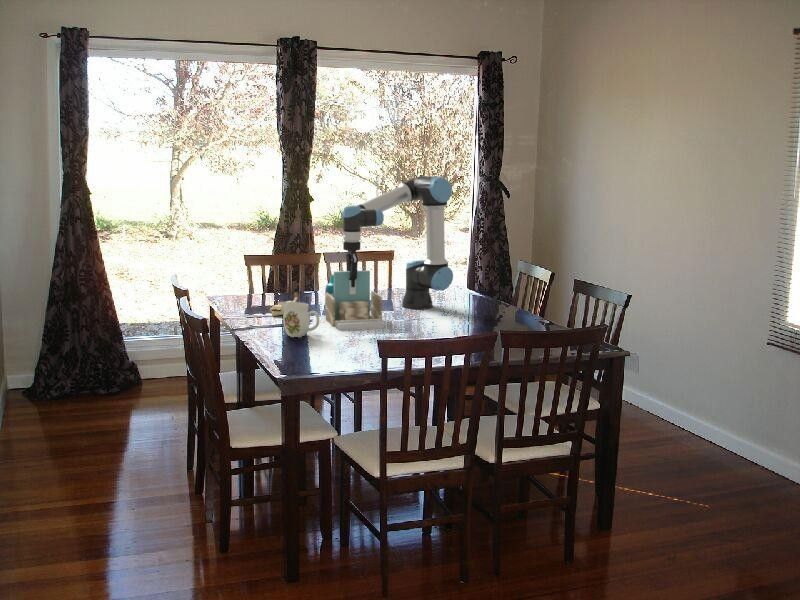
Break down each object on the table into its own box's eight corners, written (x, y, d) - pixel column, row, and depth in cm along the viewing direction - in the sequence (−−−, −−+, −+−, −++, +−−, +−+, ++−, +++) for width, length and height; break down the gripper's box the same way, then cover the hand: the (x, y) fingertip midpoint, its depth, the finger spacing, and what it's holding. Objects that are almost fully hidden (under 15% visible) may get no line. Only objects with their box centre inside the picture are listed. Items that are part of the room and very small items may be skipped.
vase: (344, 318, 368) (344, 277, 365) (322, 317, 370) (322, 276, 367) (350, 313, 378) (350, 273, 375) (328, 312, 380) (328, 272, 377)
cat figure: (287, 309, 394) (264, 314, 370) (288, 291, 393) (265, 296, 369) (306, 310, 391) (284, 316, 367) (306, 293, 390) (284, 297, 366)
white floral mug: (315, 340, 325) (314, 307, 323) (273, 337, 329) (273, 304, 327) (323, 334, 336) (323, 302, 333) (283, 331, 340) (282, 299, 337)
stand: (379, 327, 350) (379, 318, 350) (384, 331, 343) (384, 322, 343) (334, 329, 345) (334, 320, 344) (338, 333, 338) (338, 324, 337)
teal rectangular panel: (368, 318, 361) (368, 270, 357) (369, 319, 359) (369, 271, 355) (333, 320, 357) (333, 271, 352) (334, 321, 355) (334, 272, 351)
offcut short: (366, 322, 353) (366, 307, 352) (367, 323, 351) (367, 308, 349) (343, 323, 350) (343, 307, 349) (345, 324, 348) (345, 309, 346)
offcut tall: (367, 320, 357) (367, 300, 356) (368, 321, 355) (368, 301, 353) (338, 321, 354) (338, 301, 352) (339, 323, 351) (339, 302, 350)
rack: (372, 320, 365) (373, 291, 363) (381, 327, 351) (382, 297, 348) (325, 322, 359) (325, 292, 356) (332, 329, 345) (332, 299, 342)
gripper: (339, 239, 357) (339, 291, 362) (347, 243, 343) (347, 297, 348) (356, 238, 359) (356, 290, 364) (364, 242, 345) (364, 296, 350)
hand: (351, 293), depth 356 cm, fingers closed on teal rectangular panel, 2 cm apart
